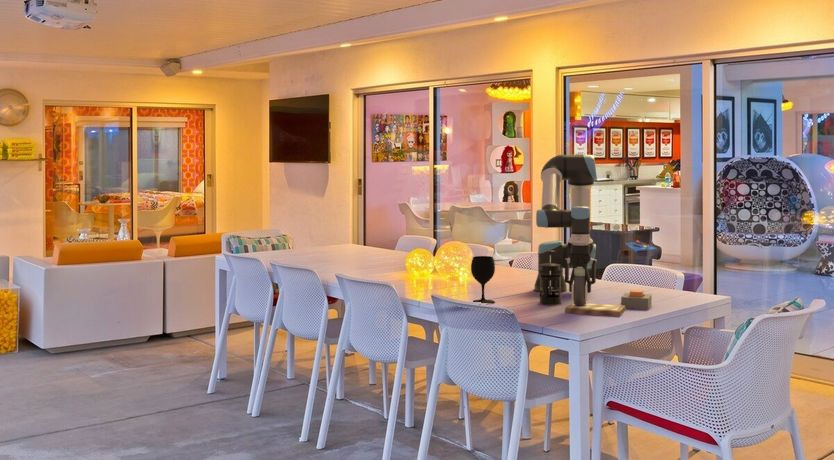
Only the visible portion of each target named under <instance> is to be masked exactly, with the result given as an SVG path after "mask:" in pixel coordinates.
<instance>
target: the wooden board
mask: <svg viewBox="0 0 834 460" xmlns="http://www.w3.org/2000/svg"><path fill="white" fill-rule="evenodd" d="M625 311H626V308H625V306H624V305H621V304H604V303H603V304H602V303H589V302H588V303H587V302H586V304H585V305H575V304H574V302H571V303H569V305H567V306H566V307H565V308H564V314H573V315H574V314H575V315H589V316H590V315H591V316H593V315H594V316H603V317H604V316H605V317H609V316H610V317H621V316H622V315H624V313H625Z"/></svg>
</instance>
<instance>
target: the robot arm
mask: <svg viewBox="0 0 834 460" xmlns="http://www.w3.org/2000/svg"><path fill="white" fill-rule="evenodd" d="M595 159H596V158H595V156H594V155H593V154H584V153H583V154H581V153H579V154H577V153H576V154H558V155H556V156H552V158H550V159H549V160H548V161H546V162H545V164H544V166H543V167H542V169H541V173H540V180H541V182H542V193H541V208H540V209H538V210H536V212H535V215H536V216H535V217H536V218H535V221H536V223H535V224H536V226H537V227H538V228H545V229H549V228H551V229H552V228H554V229H555V228H556V229H557V228H563V229H564V228H566V229H567V228H569V229H570V237H569V238H568V239H567V243H564V241H563V240H551V241H544V242H542V243H540V244H538V247H537V248H538V250H537V254H538V255H537V256H538V257H537V259H538V262H537V263H538V264H537V265H538V266H537V268H538V269H537V277H536V280H535V283H534V286H533V287H534V291H536V292H539V293H540V275H547V274H550V271H544V270H541V266H540V264H545V263H550V255H549V252H545V251H548V250H552V251H555V252H552V253H551V263H555V264H560V265H561V266H560V270H558V271H551V274H552V275H560V276H561V293H562V292H566V291H567V289H568V291H569V292H570V293H571V301H574V269H575V268H577V267H583V268H584V269H585V277H586V285H585V301H586V302H588V301H589V294H591V292H592V285H594V284H596V283H597V282H596V278H597V276H596V275H597V274H596V273H597V272H596V271H597V268H596V267H597V266H596V265H597V263H598V260H597V259H595V258H596V252H597V244H596V243H594V240H593V239H592V238H591V234H590V233H591V231H590V230H591V188H592V186H594V183H595V181H597V180H598V176H597V169H596V161H595ZM562 181H567V184H568V186H570V188H571V192H570V193H571V195H570V196H571V197H570V198H571V199H570V200H571V203H570V209H560V194H561V193H560V190H561V189H560V185H561V184H560V183H561V182H562ZM570 269H572V271H571V274H570ZM589 269H591V276H590V273H589ZM567 284H568V285H567ZM549 286H550V280H549ZM567 286H568V287H569V288H568V287H567ZM551 287H552V280H551ZM542 288H543V280H542ZM556 288H559V280H556ZM542 293H543V291H542ZM549 293H552V291H549ZM556 293H559V291H556Z"/></svg>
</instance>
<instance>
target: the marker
mask: <svg viewBox="0 0 834 460" xmlns="http://www.w3.org/2000/svg"><path fill="white" fill-rule="evenodd" d="M573 284H574V300H573V303H574V304H575V305H585V304H586V303H587V301H585V285H587V281H586V277H585V269H584V268H583V267H577V268H575V269H574V281H573Z"/></svg>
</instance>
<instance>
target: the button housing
mask: <svg viewBox="0 0 834 460" xmlns="http://www.w3.org/2000/svg"><path fill="white" fill-rule="evenodd" d="M652 295H653V294H652V293H644V294H643V297H630V292H626V293H624V294H623V295H622V296H621V297H620V298H621V299H620V305H624V306H625V309H633V310H634V309H635V310H638V309H639V310H649V309H650V308H651V306H652V300H653V299H652Z"/></svg>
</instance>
